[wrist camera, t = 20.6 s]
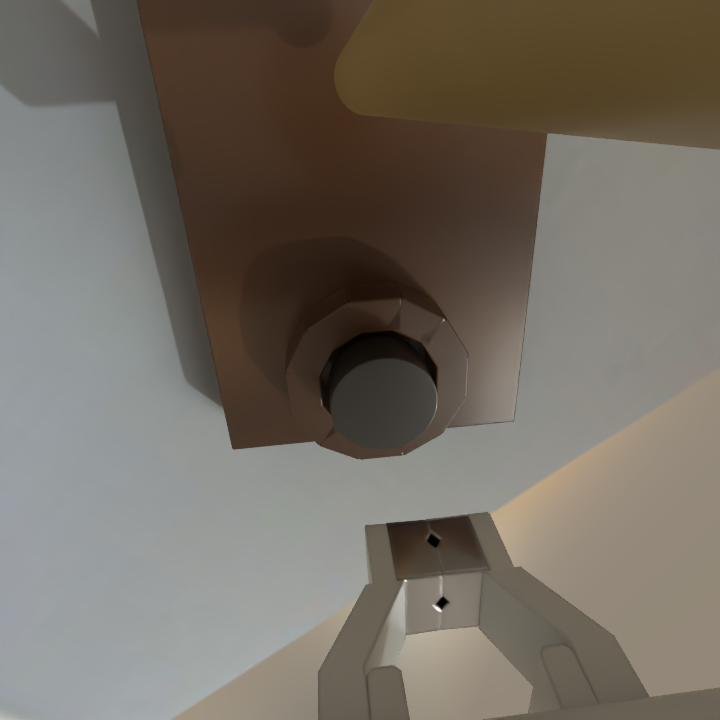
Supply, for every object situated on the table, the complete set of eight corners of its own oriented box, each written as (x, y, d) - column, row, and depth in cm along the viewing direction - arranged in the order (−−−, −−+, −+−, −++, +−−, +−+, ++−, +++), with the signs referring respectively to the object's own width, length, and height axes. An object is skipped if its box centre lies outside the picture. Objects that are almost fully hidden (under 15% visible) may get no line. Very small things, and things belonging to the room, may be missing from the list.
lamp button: (425, 417, 19) (436, 444, 17) (331, 426, 18) (334, 455, 17) (427, 330, 17) (439, 353, 15) (324, 339, 17) (325, 363, 15)
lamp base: (496, 395, 23) (531, 447, 19) (238, 420, 22) (225, 479, 19) (537, -35, 15) (605, -76, 12) (151, -20, 15) (102, -60, 11)
